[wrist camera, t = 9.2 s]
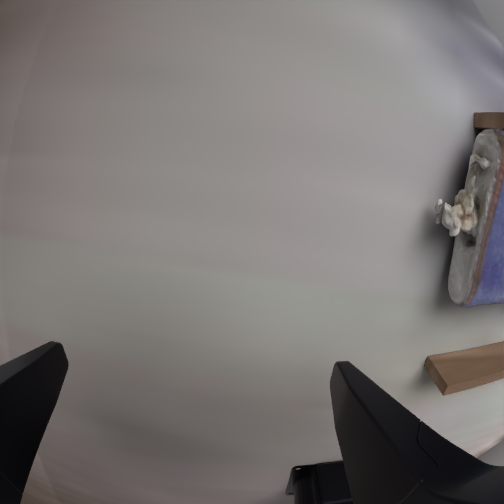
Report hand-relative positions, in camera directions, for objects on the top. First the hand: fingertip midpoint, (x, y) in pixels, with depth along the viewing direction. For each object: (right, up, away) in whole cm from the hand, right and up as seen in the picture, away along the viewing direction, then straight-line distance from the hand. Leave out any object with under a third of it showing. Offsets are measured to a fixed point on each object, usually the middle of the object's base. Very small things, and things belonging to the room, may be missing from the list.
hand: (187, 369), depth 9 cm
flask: (+21, +6, +5) cm, 22 cm away
